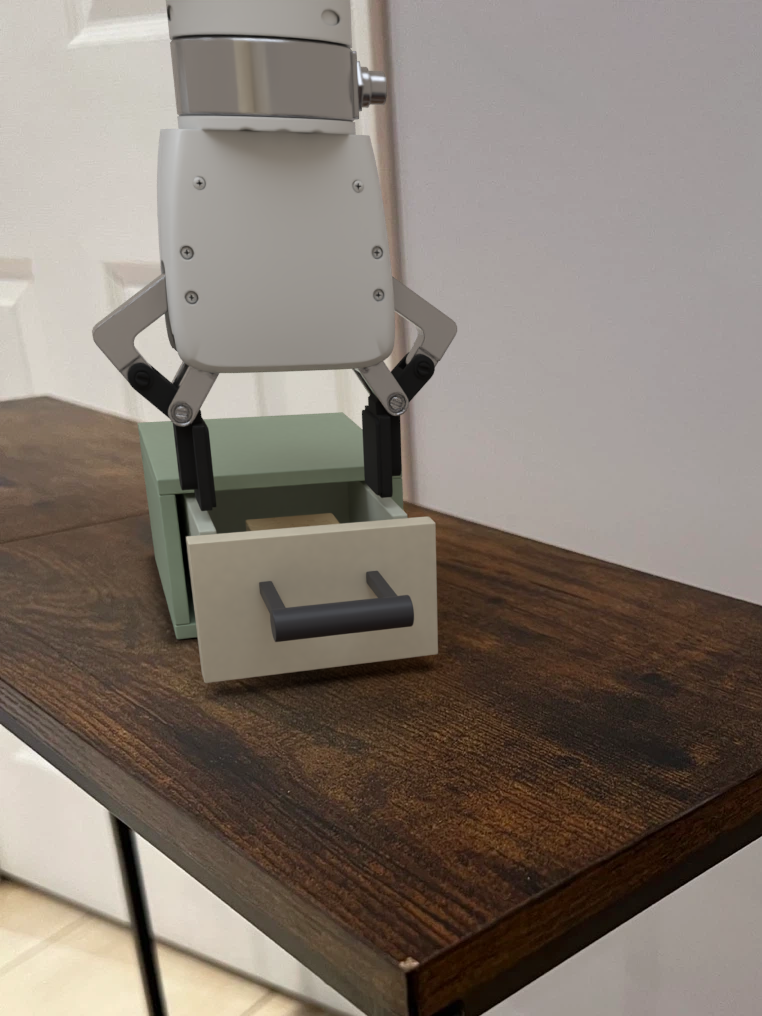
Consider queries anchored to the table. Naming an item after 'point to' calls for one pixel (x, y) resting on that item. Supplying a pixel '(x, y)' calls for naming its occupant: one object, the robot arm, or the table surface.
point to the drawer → (308, 581)
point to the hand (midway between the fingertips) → (294, 495)
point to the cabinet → (242, 478)
